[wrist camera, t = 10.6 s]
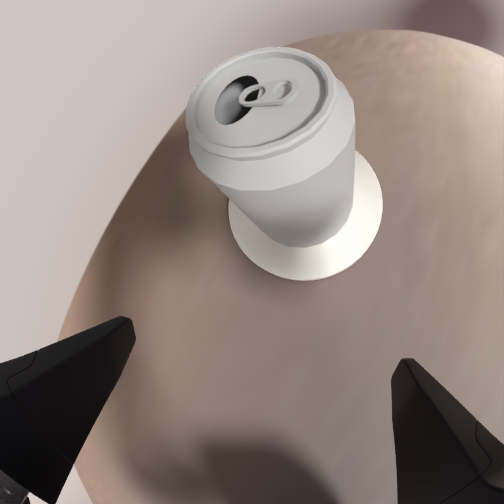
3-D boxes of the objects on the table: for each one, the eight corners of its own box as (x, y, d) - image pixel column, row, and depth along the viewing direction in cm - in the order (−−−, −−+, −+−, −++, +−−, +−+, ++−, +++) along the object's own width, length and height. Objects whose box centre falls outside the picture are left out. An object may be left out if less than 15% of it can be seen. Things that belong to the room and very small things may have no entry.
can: (268, 153, 22) (206, 43, 11) (359, 166, 19) (359, 38, 8) (243, 239, 21) (142, 164, 10) (341, 261, 19) (340, 186, 7)
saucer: (392, 158, 20) (393, 152, 19) (356, 302, 19) (357, 302, 18) (260, 131, 24) (257, 125, 23) (212, 253, 23) (207, 251, 22)
